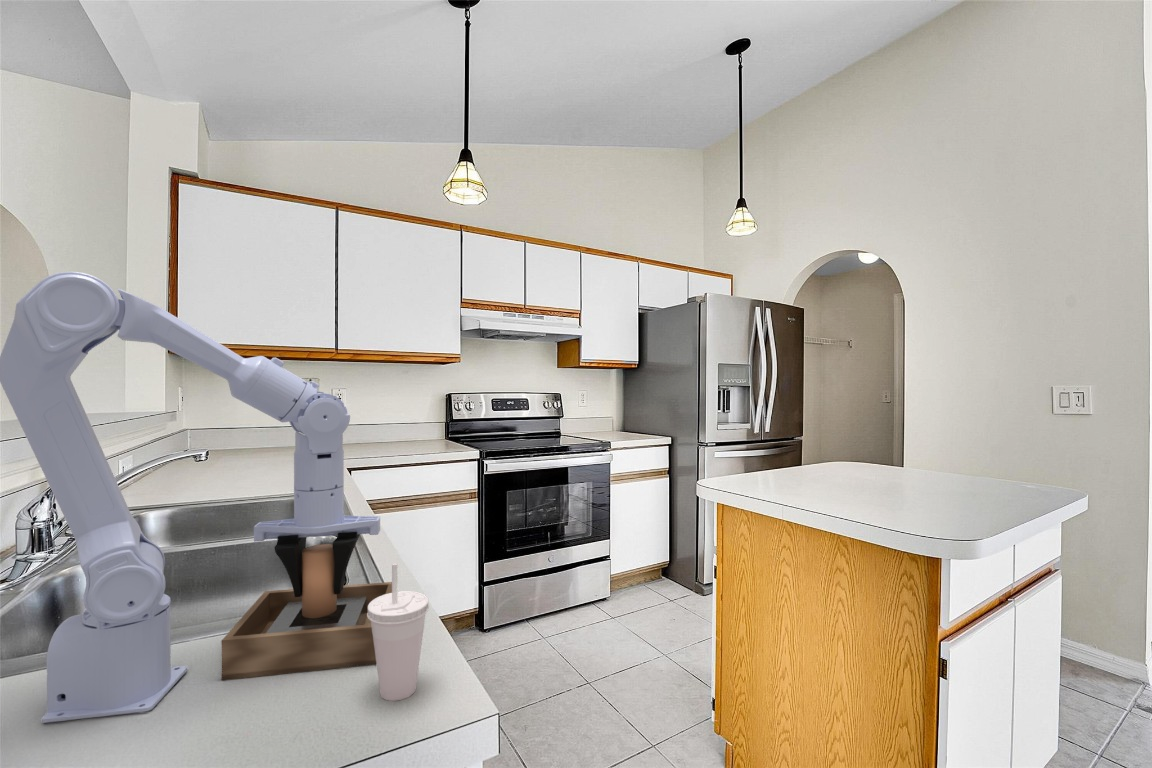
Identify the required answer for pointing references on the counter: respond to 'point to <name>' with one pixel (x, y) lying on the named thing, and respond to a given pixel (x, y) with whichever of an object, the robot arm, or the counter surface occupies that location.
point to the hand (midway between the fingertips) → (319, 592)
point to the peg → (318, 581)
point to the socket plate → (345, 615)
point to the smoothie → (397, 639)
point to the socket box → (296, 639)
